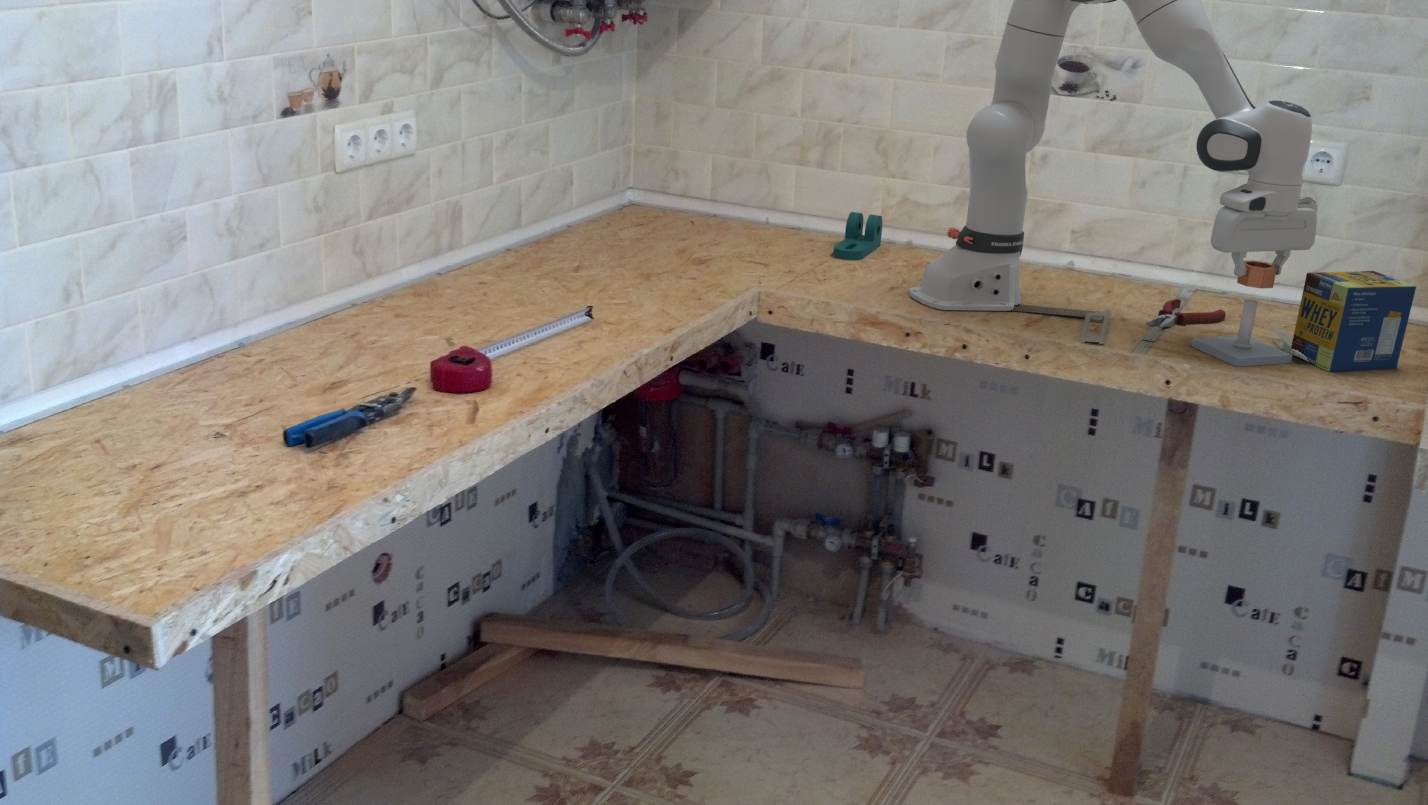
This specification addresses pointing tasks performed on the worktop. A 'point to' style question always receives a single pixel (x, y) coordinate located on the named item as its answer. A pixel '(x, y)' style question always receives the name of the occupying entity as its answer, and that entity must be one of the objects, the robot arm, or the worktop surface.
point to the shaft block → (1243, 344)
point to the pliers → (1184, 316)
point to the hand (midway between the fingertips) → (1256, 275)
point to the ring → (1258, 275)
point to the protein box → (1352, 320)
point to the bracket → (859, 237)
